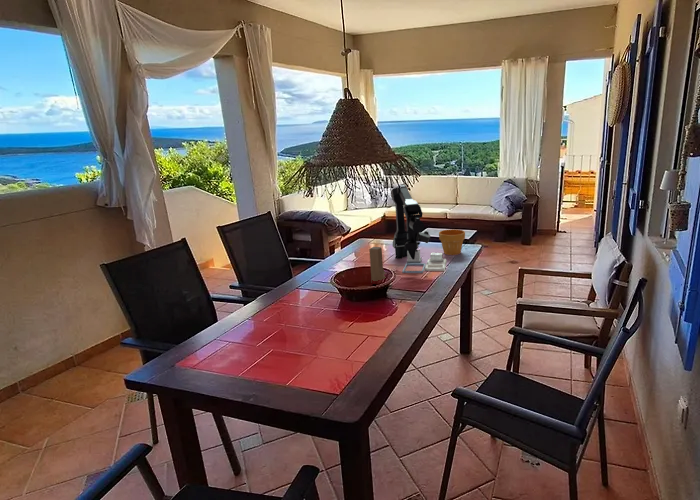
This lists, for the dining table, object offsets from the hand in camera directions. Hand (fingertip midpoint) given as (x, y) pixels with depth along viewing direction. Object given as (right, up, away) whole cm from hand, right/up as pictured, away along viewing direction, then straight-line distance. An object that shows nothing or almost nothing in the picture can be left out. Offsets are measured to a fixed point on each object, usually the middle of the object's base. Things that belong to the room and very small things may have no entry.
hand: (413, 258), depth 219 cm
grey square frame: (+2, -3, +13) cm, 14 cm away
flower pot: (+25, +1, +24) cm, 35 cm away
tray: (+1, -6, +2) cm, 7 cm away
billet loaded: (+13, -3, +8) cm, 16 cm away
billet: (0, -1, 0) cm, 1 cm away
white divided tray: (+12, -5, +4) cm, 14 cm away
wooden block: (-17, -13, -14) cm, 26 cm away
